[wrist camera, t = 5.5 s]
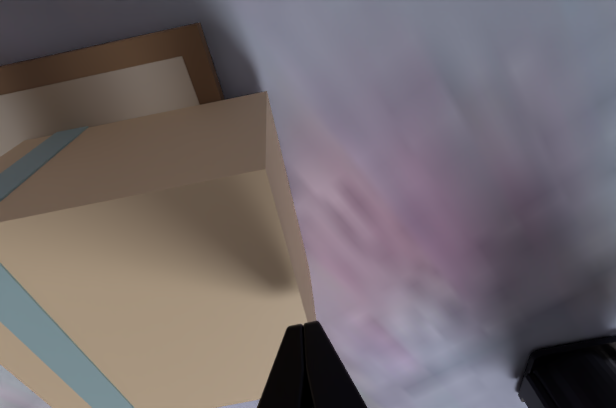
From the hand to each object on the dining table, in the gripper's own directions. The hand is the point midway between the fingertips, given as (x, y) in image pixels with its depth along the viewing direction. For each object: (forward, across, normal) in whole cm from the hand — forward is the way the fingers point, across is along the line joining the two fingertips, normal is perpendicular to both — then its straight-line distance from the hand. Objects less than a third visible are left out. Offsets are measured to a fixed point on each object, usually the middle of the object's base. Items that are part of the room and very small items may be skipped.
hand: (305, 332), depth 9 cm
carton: (+4, 0, 0) cm, 4 cm away
